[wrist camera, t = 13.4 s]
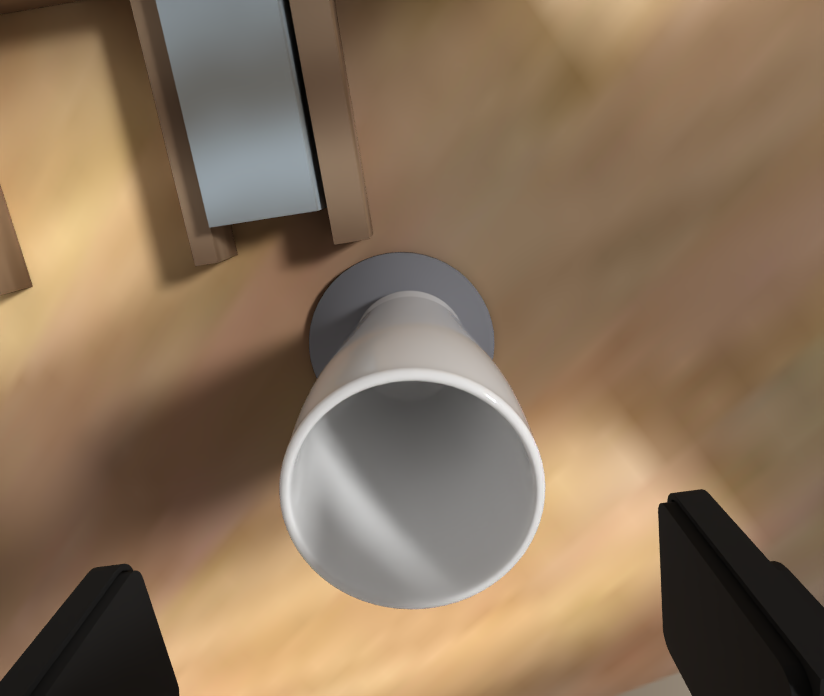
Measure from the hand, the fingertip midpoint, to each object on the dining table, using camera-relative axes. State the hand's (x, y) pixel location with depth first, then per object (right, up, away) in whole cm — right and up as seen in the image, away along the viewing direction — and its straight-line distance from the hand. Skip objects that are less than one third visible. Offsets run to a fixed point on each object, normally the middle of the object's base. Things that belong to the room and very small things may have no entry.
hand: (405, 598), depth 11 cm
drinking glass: (0, +5, +19) cm, 19 cm away
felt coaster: (0, +5, +19) cm, 20 cm away
